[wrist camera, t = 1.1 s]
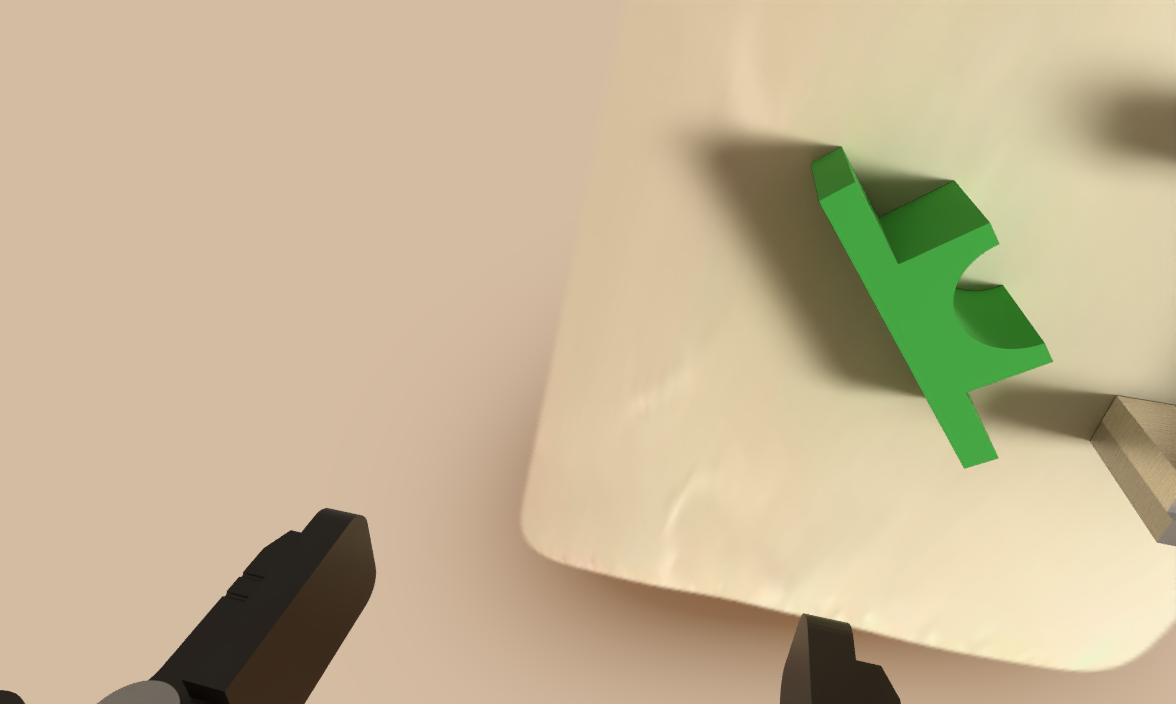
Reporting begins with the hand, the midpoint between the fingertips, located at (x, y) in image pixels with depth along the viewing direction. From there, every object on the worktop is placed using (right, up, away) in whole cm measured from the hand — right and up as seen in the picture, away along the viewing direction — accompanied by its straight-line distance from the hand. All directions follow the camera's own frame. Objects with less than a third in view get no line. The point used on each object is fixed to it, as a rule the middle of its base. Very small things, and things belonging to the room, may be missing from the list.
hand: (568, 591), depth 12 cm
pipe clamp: (+13, +7, +13) cm, 19 cm away
